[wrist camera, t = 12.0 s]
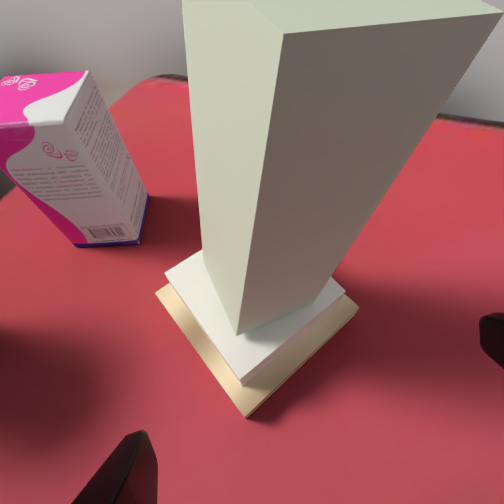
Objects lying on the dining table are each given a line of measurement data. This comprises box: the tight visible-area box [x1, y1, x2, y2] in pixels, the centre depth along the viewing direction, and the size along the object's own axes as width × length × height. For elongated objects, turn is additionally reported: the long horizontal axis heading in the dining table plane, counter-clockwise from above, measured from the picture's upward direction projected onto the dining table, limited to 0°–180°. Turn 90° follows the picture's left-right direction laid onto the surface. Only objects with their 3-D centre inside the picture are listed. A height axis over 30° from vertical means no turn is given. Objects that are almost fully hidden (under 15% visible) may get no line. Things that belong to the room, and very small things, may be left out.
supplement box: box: [0, 71, 149, 247], centre depth 22 cm, size 6×6×12 cm
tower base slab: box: [155, 283, 360, 419], centre depth 21 cm, size 10×10×2 cm
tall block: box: [182, 0, 504, 336], centre depth 12 cm, size 5×5×14 cm
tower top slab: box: [165, 250, 346, 386], centre depth 19 cm, size 8×8×2 cm
